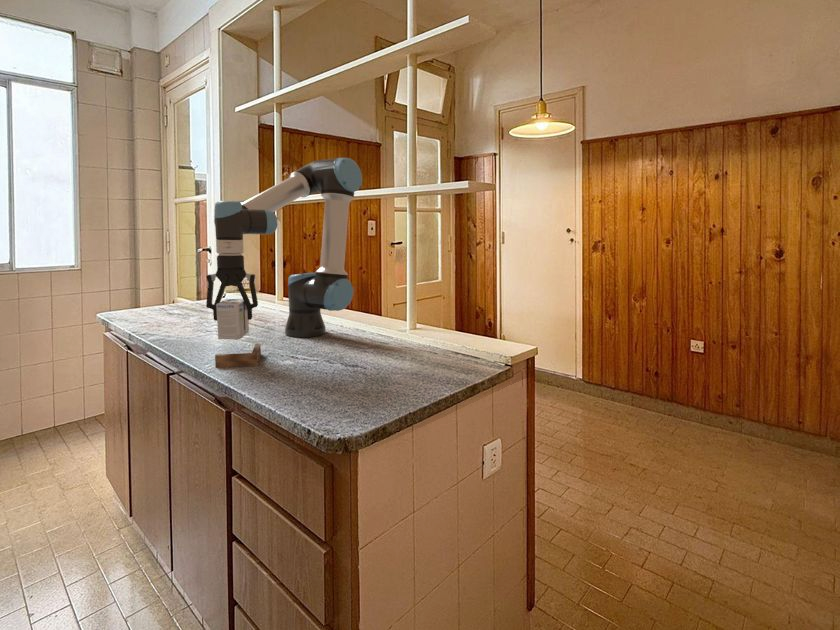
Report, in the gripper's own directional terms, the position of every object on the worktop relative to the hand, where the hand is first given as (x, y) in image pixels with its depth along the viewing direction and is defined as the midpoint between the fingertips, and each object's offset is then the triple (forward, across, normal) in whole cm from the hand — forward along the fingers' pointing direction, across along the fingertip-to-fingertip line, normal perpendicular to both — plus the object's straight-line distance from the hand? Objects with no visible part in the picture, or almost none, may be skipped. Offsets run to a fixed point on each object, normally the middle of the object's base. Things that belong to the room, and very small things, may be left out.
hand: (233, 330), depth 156 cm
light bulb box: (+2, 0, 0) cm, 2 cm away
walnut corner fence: (+9, +1, -1) cm, 9 cm away
